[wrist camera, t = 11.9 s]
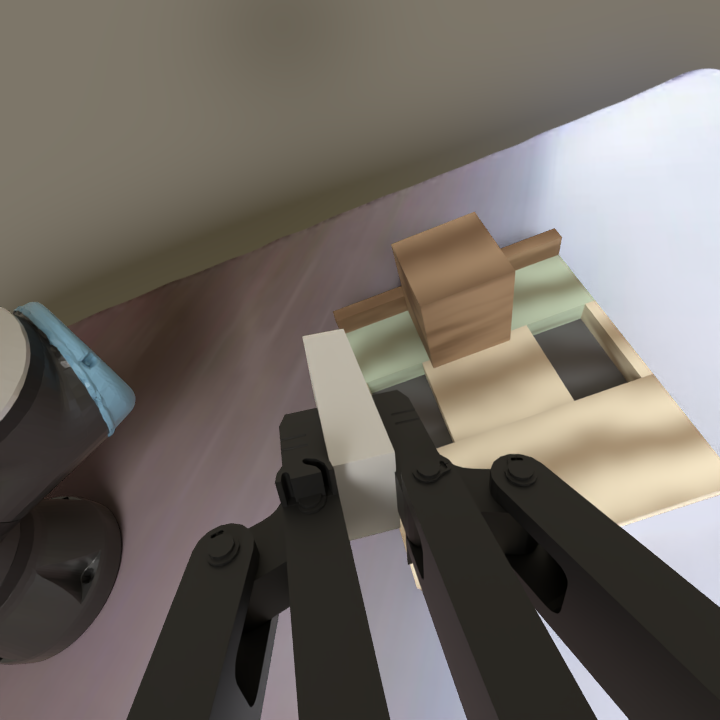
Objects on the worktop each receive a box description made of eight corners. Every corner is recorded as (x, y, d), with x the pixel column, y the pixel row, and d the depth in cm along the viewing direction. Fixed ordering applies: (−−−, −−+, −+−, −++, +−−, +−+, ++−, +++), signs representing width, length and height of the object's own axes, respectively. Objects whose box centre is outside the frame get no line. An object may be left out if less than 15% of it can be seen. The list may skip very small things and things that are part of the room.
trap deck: (721, 494, 33) (758, 473, 29) (422, 590, 35) (412, 585, 31) (548, 264, 49) (554, 228, 45) (346, 339, 51) (333, 311, 46)
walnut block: (510, 340, 42) (515, 270, 34) (433, 368, 42) (420, 306, 34) (476, 284, 46) (474, 211, 38) (408, 310, 47) (391, 244, 39)
